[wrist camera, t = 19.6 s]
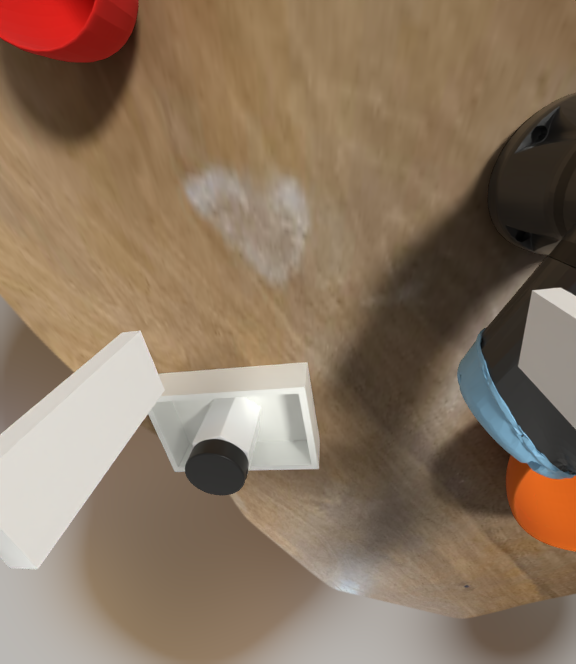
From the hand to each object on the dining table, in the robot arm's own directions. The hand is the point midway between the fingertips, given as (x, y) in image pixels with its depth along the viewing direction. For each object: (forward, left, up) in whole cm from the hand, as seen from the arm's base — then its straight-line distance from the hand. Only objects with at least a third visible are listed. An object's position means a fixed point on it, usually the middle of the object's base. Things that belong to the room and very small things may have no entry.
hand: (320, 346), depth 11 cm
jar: (+18, +28, -30) cm, 45 cm away
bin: (+17, +28, -31) cm, 45 cm away
